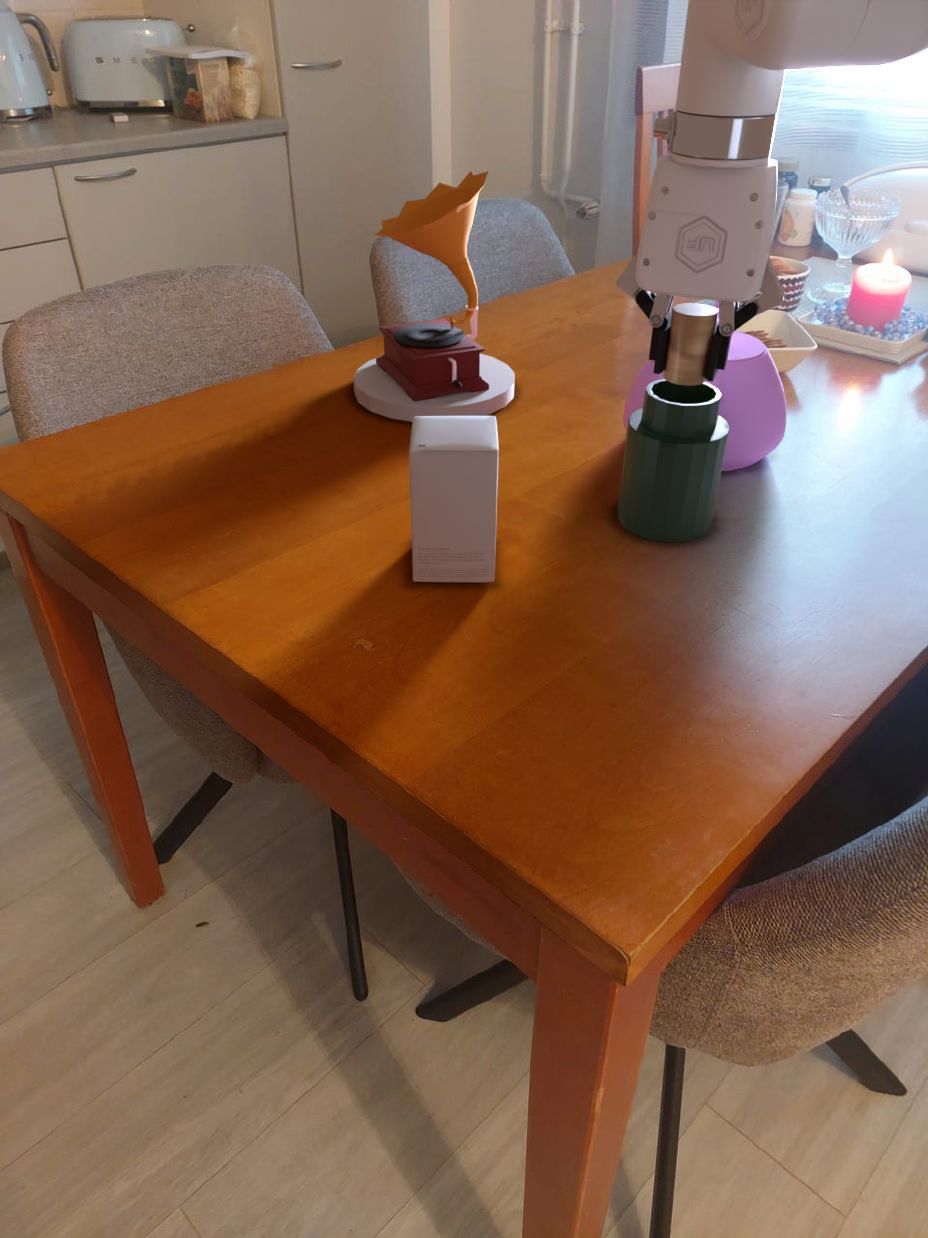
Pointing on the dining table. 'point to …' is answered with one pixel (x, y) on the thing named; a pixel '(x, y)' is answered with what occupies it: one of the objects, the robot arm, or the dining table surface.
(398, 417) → the gramophone
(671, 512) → the green bottle
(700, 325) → the stopper
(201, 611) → the dining table surface
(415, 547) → the white packaging box
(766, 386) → the teapot
